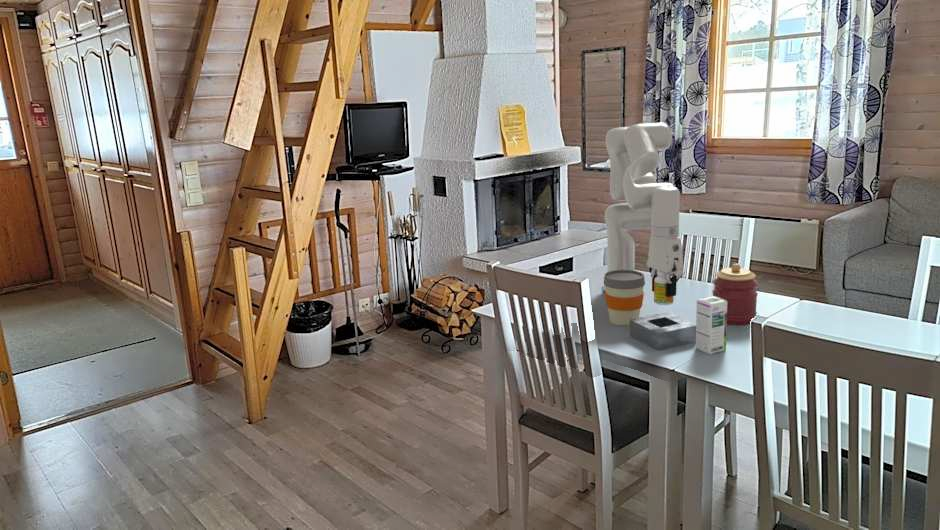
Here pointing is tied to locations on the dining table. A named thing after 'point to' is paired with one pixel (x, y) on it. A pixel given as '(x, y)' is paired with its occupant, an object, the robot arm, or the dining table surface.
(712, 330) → the syrup box
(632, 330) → the steel collar
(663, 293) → the supplement bottle
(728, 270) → the canister
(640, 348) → the dining table surface
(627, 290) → the reusable coffee cup
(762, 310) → the dining table surface
